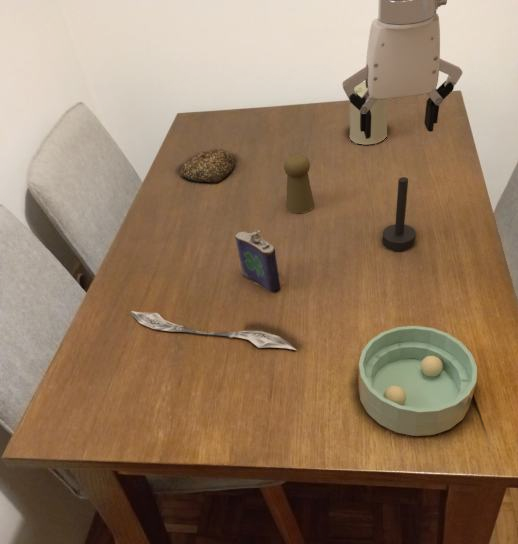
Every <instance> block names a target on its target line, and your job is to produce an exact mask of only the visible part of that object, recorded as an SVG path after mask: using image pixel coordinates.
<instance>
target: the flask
mask: <svg viewBox="0 0 518 544" xmlns="http://www.w3.org/2000/svg"><path fill="white" fill-rule="evenodd" d="M259 233H260V234H261V230H260V229H255V231H252V232H246V231H239V232H237V233H236V234H235V241H236V247H237V251H238V258H239V262H240V269H241V275H242V276H243V277H244V278H245V279H246V280H249V281H251V282H252V283H253V284H255V285H258V286H260V287H261V288H263V289H264V290H266V291H267V292H269V293H270V294H277V293H279V292H280V291H281V290H282V287H281V282H280V275H279V269H278V262H277V261H278V260H277V256H276V248H275V247H274V246H273V245H272V244H271V243H269V242H268V241H267V240H265V239H264V238H263V237H262V236H260V235H259Z"/></svg>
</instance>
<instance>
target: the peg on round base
mask: <svg viewBox="0 0 518 544" xmlns="http://www.w3.org/2000/svg"><path fill="white" fill-rule="evenodd" d="M397 183H398V185H397V198H396V212H395V224H390V225H389V226H387V227H385V228H384V229H383V231H382V239H381V242H382V245H383V247H384V248H385V249H387V250H389V251H392V252H405V251H408V250H411V249H412V248H413V247H414V246H415V244H416V237H417V233H416V230H415V228H414V227H413V226H410V225H408V224H405V221H406V211H407V200H408V187H409V178H408V177H405V176H403V177H399V178H398V181H397Z"/></svg>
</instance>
